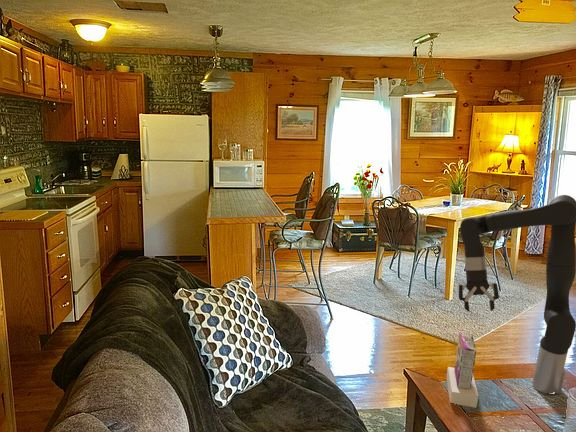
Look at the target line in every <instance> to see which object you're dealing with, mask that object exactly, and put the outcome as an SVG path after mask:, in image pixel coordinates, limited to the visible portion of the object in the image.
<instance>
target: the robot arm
mask: <svg viewBox="0 0 576 432" xmlns="http://www.w3.org/2000/svg"><path fill="white" fill-rule="evenodd" d="M536 226H537V227H538V226H550V227H551V229H550V230H551V231H550V239H549V242H548V248H547V253H546V261H545V262H546V264H545V275H546V277H545V280H546V297H545V298H546V299H545V306H544V311H543V320H544V322H545V325H546V329H545V332H544V336H542V337H541V339H540V343H539V349H538V351H537V358H536V363H535V366H534V367H535V368H534V372H533V377H532V383H531V385H532V384H533V385H532V387H533V388H534V389H535V390H537V391H538V392H540V393H542V394H546V395H548V394H547V393H553V392H555V393H557V394H558V395H561V394H562V389H563V385H564V380H565V376H566V370H565V367H566V361H567V356H568V352H569V349H570V348H571V346H572V345H573V344H572V343H573V341H574V337H575V336H574V335H575V332H576V319H575V318H574V316H573V315H572V313H571V309H570V298H569V297H570V290H571V288H572V287H573V283H574V281H575V277H576V238H575V234H576V232H575V231H576V199H575V198H574V197H572V196H571V195H567V194H561V195H558V196H555V197H554V198H553V199H552V200H551V201H550V203H549V204H548V203H547V204H546V205H543V206H539V207H536V208H530V209H511V210H503V211H498V212H497V211H496V212H493V213H489V214H488V215H482V216H476V217H475V216H474V217H470V216H469V217H464V218H463V220H461V222H460V225H459V231H460V237H461V241H462V243H463V247H464V263H465V264H464V265H465V267H464V269H465V277H466V278H465V279H466V284H458V300H459V301H463V302H464V303H463V304H464V309H465V310H466V312H468V313H469V312H470V305H469V303H470V302H469V300H470V298H471V297H472V296H478V295H480V296H484V295H485V296H486V297H487V298H488V300H489V302H488V303H489V310H490V311H492V312H493V311H494V310H495V309H496V308H495V300H498V299H500V295H499V294H500V293H499V288H498V284H497V283H496V282H492V283H490V282H488V273H487V263H486V257H485V247H484V244H483V242H481V237H480V236H481V235H484V234H487V233H492V232H501V231H508V230H515V229H519V228H527V227H536ZM489 288H491V289H492V291H493V296H492V295H491V294H490V292H489V291H488V289H489ZM465 289H467V290H468V292H467V293H466V296H464V293H463V291H465ZM557 394H556V395H557Z"/></svg>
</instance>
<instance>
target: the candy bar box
mask: <svg viewBox="0 0 576 432" xmlns="http://www.w3.org/2000/svg"><path fill="white" fill-rule="evenodd" d="M476 356H477V348H476V344H475V340H474V336H473V334H467V333H459V334H458V341H457V348H456V355H455V361H454V362H455V363H454V368H455V369H454V372H455V377H456V382H457V387H458V388H464V389H471V383H472V377H473V376H474V369H475V362H476Z"/></svg>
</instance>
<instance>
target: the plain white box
mask: <svg viewBox="0 0 576 432" xmlns="http://www.w3.org/2000/svg"><path fill="white" fill-rule="evenodd" d="M454 369H455V367H453V366H452V367H451V366H447V370H446V377H445V378H446V384H447V391H448V398H450V399H449V403H450V402H451V403H454V404H453V405H456V404H457V406H462V407H463V406H464V407H470V408H474V409H476V408H477V405H478V400H479V393H478V389H477V386H476V385H477V384H476V381H475V378H474V375H473V377H472V383H471V389H464V388H458V387H457V382H456V377H455V372H454Z"/></svg>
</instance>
